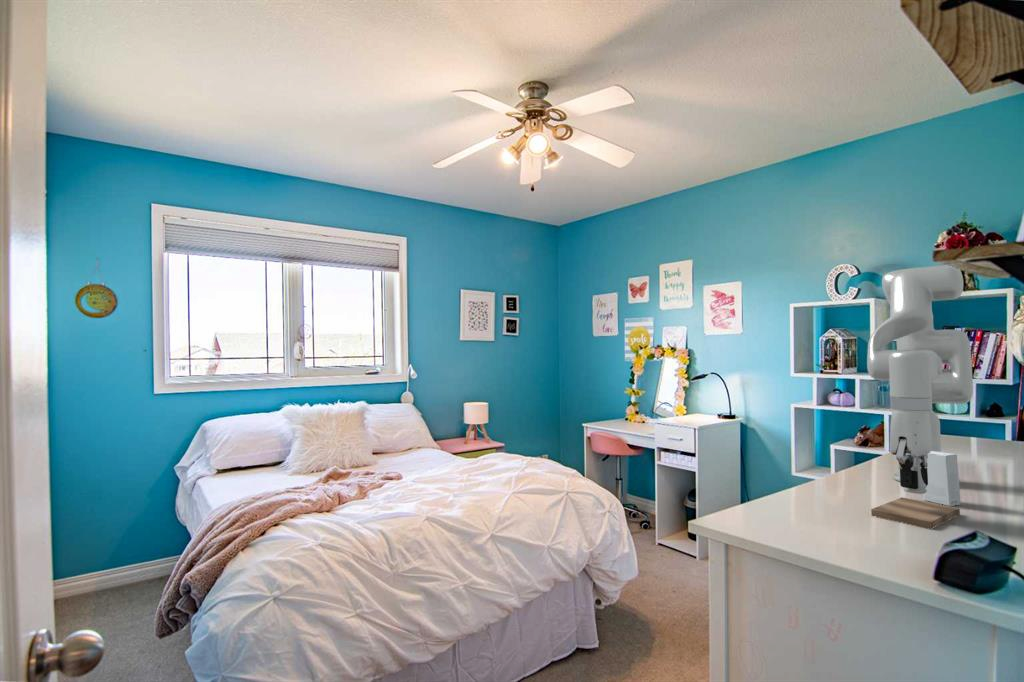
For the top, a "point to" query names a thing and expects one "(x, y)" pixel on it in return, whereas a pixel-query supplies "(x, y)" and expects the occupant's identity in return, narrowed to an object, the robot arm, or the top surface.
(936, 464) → the skincare box
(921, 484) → the rook chess piece
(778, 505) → the top surface
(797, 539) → the top surface
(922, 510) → the walnut board
